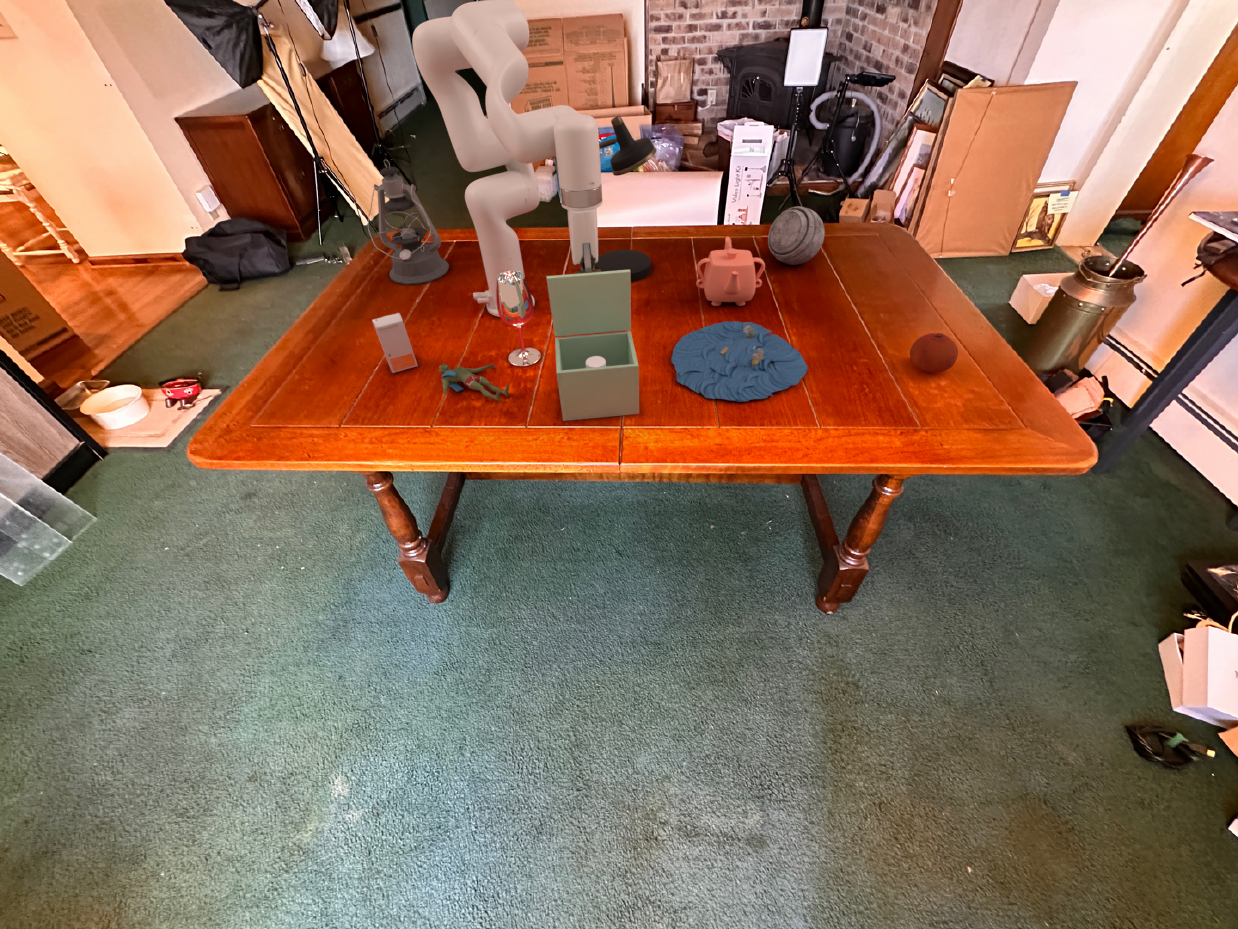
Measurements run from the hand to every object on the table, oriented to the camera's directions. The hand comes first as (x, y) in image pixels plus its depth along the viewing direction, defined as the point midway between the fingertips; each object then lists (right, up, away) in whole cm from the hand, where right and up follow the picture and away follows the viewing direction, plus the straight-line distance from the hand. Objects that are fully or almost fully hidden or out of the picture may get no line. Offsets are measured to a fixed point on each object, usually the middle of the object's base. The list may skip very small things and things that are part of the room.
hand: (589, 289), depth 113 cm
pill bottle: (+2, -23, +3) cm, 23 cm away
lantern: (-53, +20, +50) cm, 75 cm away
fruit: (+73, -15, +8) cm, 75 cm away
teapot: (+35, +8, +33) cm, 49 cm away
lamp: (+6, +20, +47) cm, 51 cm away
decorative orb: (+56, +22, +47) cm, 76 cm away
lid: (+1, -5, -5) cm, 7 cm away
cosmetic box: (-44, -13, +16) cm, 48 cm away
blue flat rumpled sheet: (+33, -13, +12) cm, 37 cm away
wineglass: (-16, -11, +17) cm, 25 cm away
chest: (+2, -22, +4) cm, 22 cm away
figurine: (-26, -19, +9) cm, 33 cm away
